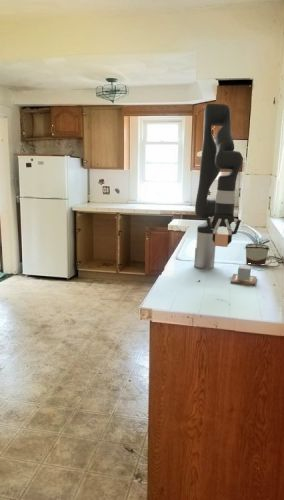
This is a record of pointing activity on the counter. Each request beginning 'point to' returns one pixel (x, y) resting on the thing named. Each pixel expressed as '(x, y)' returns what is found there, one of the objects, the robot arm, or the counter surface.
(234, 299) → the counter surface
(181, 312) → the counter surface
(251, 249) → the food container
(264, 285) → the counter surface
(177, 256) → the counter surface
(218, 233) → the terracotta block
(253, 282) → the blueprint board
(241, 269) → the slate block
